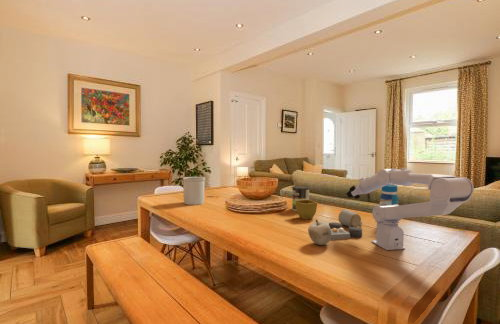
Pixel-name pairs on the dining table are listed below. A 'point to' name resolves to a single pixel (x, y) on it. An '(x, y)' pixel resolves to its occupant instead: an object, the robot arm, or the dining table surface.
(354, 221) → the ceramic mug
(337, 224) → the cord coil
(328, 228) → the decorative object
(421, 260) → the dining table surface
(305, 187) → the coffee can
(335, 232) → the grey egg carton
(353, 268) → the dining table surface
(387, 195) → the beverage bottle
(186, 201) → the utensil holder
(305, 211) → the flower pot
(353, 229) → the cord coil
